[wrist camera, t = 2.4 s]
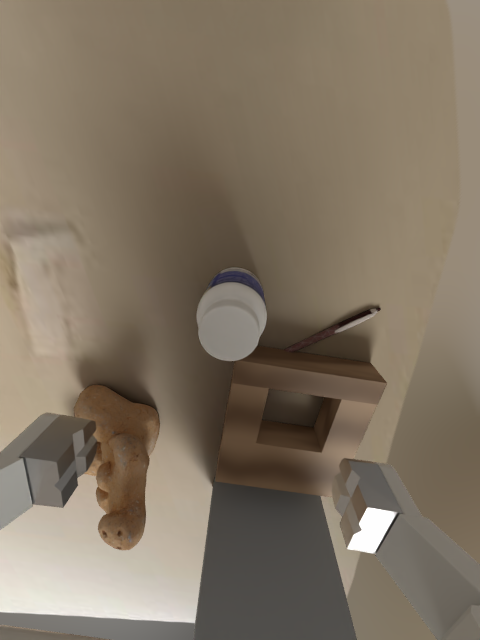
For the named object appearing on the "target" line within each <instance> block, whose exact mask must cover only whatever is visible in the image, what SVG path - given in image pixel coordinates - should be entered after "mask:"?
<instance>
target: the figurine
mask: <svg viewBox="0 0 480 640" xmlns="http://www.w3.org/2000/svg"><path fill="white" fill-rule="evenodd" d="M74 412H75V417H77V418H83V419H89V420H93V421H95V422H96V431H95V432H94V434H93V436H94V437H95V438H96V439H97V451H96V455H95V457H94V460H93V462H92V464H91V466H90V467H89V469H88V470H87V472H85V473H84V474H88V475H93V476H96V480H97V484H98V487H97V490H96V497H97V502H98V504H99V506H100V507H101V508H102V509H103V510H104V511H105V512H106V513H107V514H106V515H104V516H103V517H102V518H101V520H100V522H99V525H98V530H99V533H100V536H101V538H102V539H103V540H104V541H105V542H106V543H107V544H108V545H110V546H112V547H113V548H115V549H119V550H129V549H131V548H133V547H134V546H135V545H136V544H137V543H138V542H139V540H140V539H141V537H142V535H143V532H144V527H145V521H146V509H145V487H146V473H147V469H148V466H149V456H150V455H151V453H152V451H153V450H154V447H155V444H156V441H157V438H158V435H159V428H160V422H159V417H158V414H157V411H156V410H155V409H154V408H152V407H150V406H148V405H146V404H139V403H132V402H130V401H128V400H127V399H125V398H123V397H121V396H120V395H118V394H117V393H116V392H114V391H112V390H111V389H109V388H108V387H106V386H101V385H92V386H89V387H87V388H86V389H85V390H84V391H82V392H81V393H80V396H79V398H78V401H77V402H76V405H75V406H74Z"/></svg>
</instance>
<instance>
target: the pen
mask: <svg viewBox="0 0 480 640" xmlns="http://www.w3.org/2000/svg"><path fill="white" fill-rule="evenodd" d="M380 310H381V309H380V308H377V309H370V310H367V311H365V312H363V313H361V314H358V315H356V316H354V317H352V318H349V319H347V320H345V321H343V322H340V323H338V324H336V325H334V326H332V327H330V328H328V329H326V330H323V331H321V332H319V333H317V334H315V335H313V336H311V337H309V338H307V339H305V340H303V341H300V342H298V343H296V344H294V345H292V346H290V347H288V348H286V349H284V351H286V352H295V351H297V350H299V349H302V348H304V347H306V346H308V345H311V344H313V343H315V342H317V341H320V340H322V339H324V338H326V337H329V336H331V335H333V334H335V333H338V332H341V331H343V330H346V329H348V328H351V327H353V326H355V325H357V324H359V323H361V322H363V321H365V320H367V319H369V318H371V317H373V316H374V315H375V314H376V313H377V312H378V311H380Z"/></svg>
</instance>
